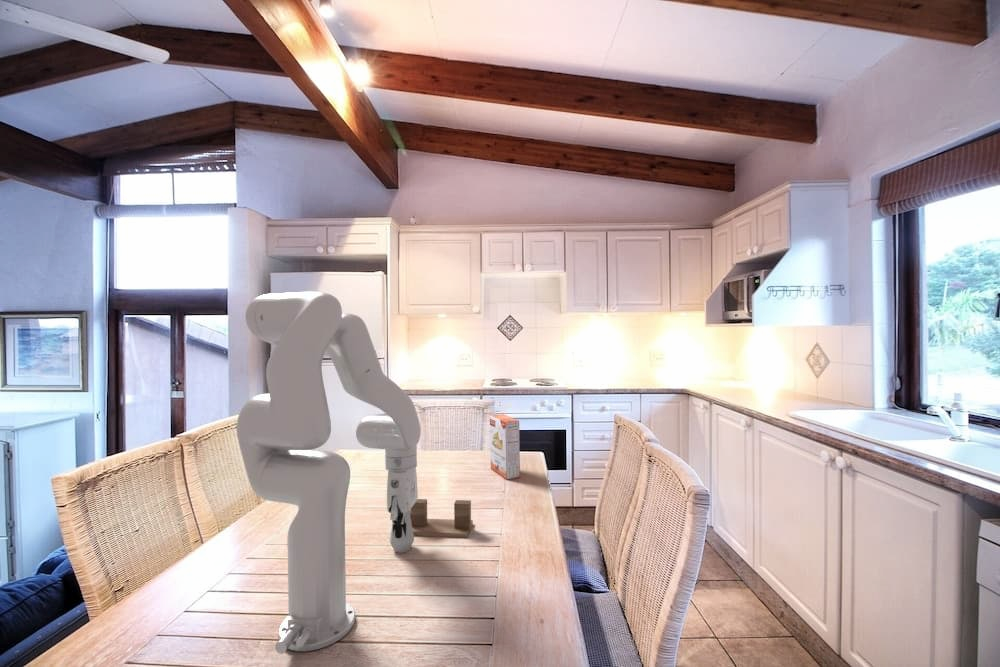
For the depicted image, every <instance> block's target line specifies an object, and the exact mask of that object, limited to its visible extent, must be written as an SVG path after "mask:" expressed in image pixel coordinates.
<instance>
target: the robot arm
mask: <svg viewBox="0 0 1000 667" xmlns="http://www.w3.org/2000/svg"><path fill="white" fill-rule="evenodd" d="M342 310H343V309H342V305H341V303H340V301H339V299H338V298H337V297H336V296H334V295H332V294H330V293H326V292H322V291H321V292H319V291H300V292H299V291H297V292H284V293H283V292H282V293H280V292H278V293H266V294H262V295H260V296H257V297H255V298H254V299H252V301H251V302H249V304H248V306H247V307H246V311H245V316H244V317H245V323H246V325H247V327H248V330H249V331H250V332H251V334H252V335H254V336H255V337H256V338H257V339H258V340H261V341H263V342H265V343H268V344H271V345H273V346H275V347H274V349H273V350H272V352H271V354H270V357H269V358H268V360H267V364H266V368H265V369H266V370H265V371H266V372H265V375H266V376H265V377H266V383H267V390H268V393H261V394H258V395H255V396H252V397H251V398H250V399H248V401H246V402H245V403H244V405H242V408H241V409H240V411H239V414H238V416H237V422H236V436H237V440H238V445H239V448H240V453H241V456H242V460H243V465H244V467H245V471H246V475H247V478H248V482H249V484H250V487H251V489H252V491H253V493H254V494H255V495H256V496H258V498H260V499H261V500H262V499H263V500H265V501H268V502H275V503H281V504H282V503H283V504H290V505H294V506H297V508H298V510H297V513H296V515H295V516H294V518H293V519H292V522H291V523H290V525H289V527H288V531H287V586H288V588H287V590H288V594H287V596H288V599H287V600H288V615H287V616H286V618H285V619H284V620H282V622H281V624H280V625H279V629H278V639H279V640H277V642H275V643H276V644H275V646H274V648H275V651H276V653H278V654H281V655H282V654H284V653H285V652H286V651H287V650H291V651H295V652H311V651H315V650H320V649H323V648H326V647H329V646H330V645H332V644H335V643H336V642H338V641H339V640H341V639H342V638H344V637H345V636H346V635H347V634H349V633H348V632H350V631H351V629H352V628H353V626H354V624H355V621H356V614H355V613H356V612H355V609H354V607H353V606H352V605H351V604H350V603H348V602H347V600H346V599H347V598H346V597H347V596H346V595H347V594H346V592H347V591H346V589H347V586H346V585H347V584H346V583H347V582H346V581H347V580H346V507H347V506H346V505H347V497H348V492H349V488H350V480H351V468H350V465H349V463H348V461H347V460H346V459H345V458H344V457H343V456H341V455H340V454H338V453H336V452H332V451H328V450H320V449H319V448H320V447H322V446H324V445H325V444H327V442H328V440H329V438H330V437H331V432H332V421H331V420H332V419H331V415H330V414H331V413H330V410H329V405H328V400H327V394H326V388H325V384H324V379H323V378H324V377H323V370H322V367H323V366H322V364H323V358H324V356H329V357H330V360H331V361H332V364H333V366H334V369H335V370H336V373H337V376H338V378H339V381H340V383H341V386H342V387H343V390H344V391H345V392H346V394H349V395H350V396H351V397H353V398H356V399H357V400H359V401H362V402H363V403H365V404H367V405H370V406H373V407H375V408H377V409H379V410H381V411H382V412H384V413H379V414H376V413H375V414H371V415H370V414H369V415H367V416H366V417H365V416H364V418H362V420H360V421H359V423H358V425H356V426H357V427H356V429H355V438H356V440H357V441H358V443H359V444H360V445H361V446H363V447H365V448H369V449H377V450H378V449H379V450H385V451H384V452H385V453H384V454H385V455H384V456H385V457H384V460H385V462H384V463H385V465H384V466H385V470H387V481H386V482H387V483H386V510H387V512H388V513H390V519H389V520H390V521H391V525H392V524H393V533H394V530H395V537H396V538H401V537H402V527H403V531H404V534H405V537H406V523H405V513H407V512H408V511H409V513H410V515H411V508H412V506H413V505H414V504H415V502H416V501H417V499H419V498H418V497H419V495H418V494H419V492H418V475H417V467H418V453H417V452H418V451H417V449H418V448H417V447H418V444H419V442H420V440H421V435H422V434H421V433H422V432H421V431H422V430H421V422H420V420H419V416H418V412H417V410H416V407H415V404H414V401H412V399H411V397H410V396H409V395H408V393H407V392H405V391H404V390H403V389H402V388H401V387H400V386H399V385H398V384H397V383H396V382H395V381H393V380H392V379H391V378H389V377H388V376H387V375H385V374H384V372H383V369H382V367H381V363H380V361H379V358H378V355H377V353H376V352H377V351H376V350H375V347H374V343H373V341H372V339H371V335H370V333H369V330H368V327H367V325H366V322H365V321H364V319H362V317H360V316H358V315H356V314H353V313H348V312H347V313H346V312H343V311H342ZM398 509H400V510H398ZM398 514H401V516H398ZM410 518H411V516H410Z"/></svg>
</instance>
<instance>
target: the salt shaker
mask: <svg viewBox="0 0 1000 667" xmlns="http://www.w3.org/2000/svg"><path fill="white" fill-rule="evenodd" d="M398 510H400V509H398ZM398 516H401V514H398ZM405 523H406V537H405V534H404V531H403V527H402V537H401V538H396V537H395V530H394V533H393V524H392V523H391V530H390V531H391V532H390V538H389V544H390V545H391V547H392V548H393V550H394V553H399V554H402V553H407V552H409V551H410V549H411V547H412V545H413V543H414V540H415V536H414V534H413V529H412V524H411V518H410V513H409V511H408V512H407V513H405Z"/></svg>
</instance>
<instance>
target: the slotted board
mask: <svg viewBox="0 0 1000 667" xmlns="http://www.w3.org/2000/svg"><path fill="white" fill-rule="evenodd" d="M453 504H454V506H453V507H454V508H453V514H454V518H453V519H447V518H442V519H441V518H428V499H426V498H417V501H416V502H415V504H414V505H413V506H412V508H411V515H410V516H411V524H412V529H413V534H414V535H417V536H419V537H440V536H446V537H447V538H469V535H470V532H471V529H472V527H473V524H474V522H473V519H472V501H471V500H466V499H465V500H464V499H463V500H462V499H456V500H455V501H454V503H453ZM417 536H416V537H417ZM446 537H445V538H446Z"/></svg>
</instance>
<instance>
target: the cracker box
mask: <svg viewBox="0 0 1000 667" xmlns="http://www.w3.org/2000/svg"><path fill="white" fill-rule="evenodd" d="M489 435H490V436H489V439H490V440H489V441H490V444H489V446H490V469H491V470H492V471H494V472H495V473H497V474H498V475H499V476H500V477H502V478H504V479H505V480H507V479H508V480H512V479H513V480H514V479H517V478H520V477H521V459H520V458H521V456H520V455H521V454H520V449H521V448H520V446H521V445H520V420H519V419H516V418H514V417H510V416H509V415H506V414H504V413H499V414H490V415H489ZM508 480H507V481H508Z"/></svg>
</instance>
